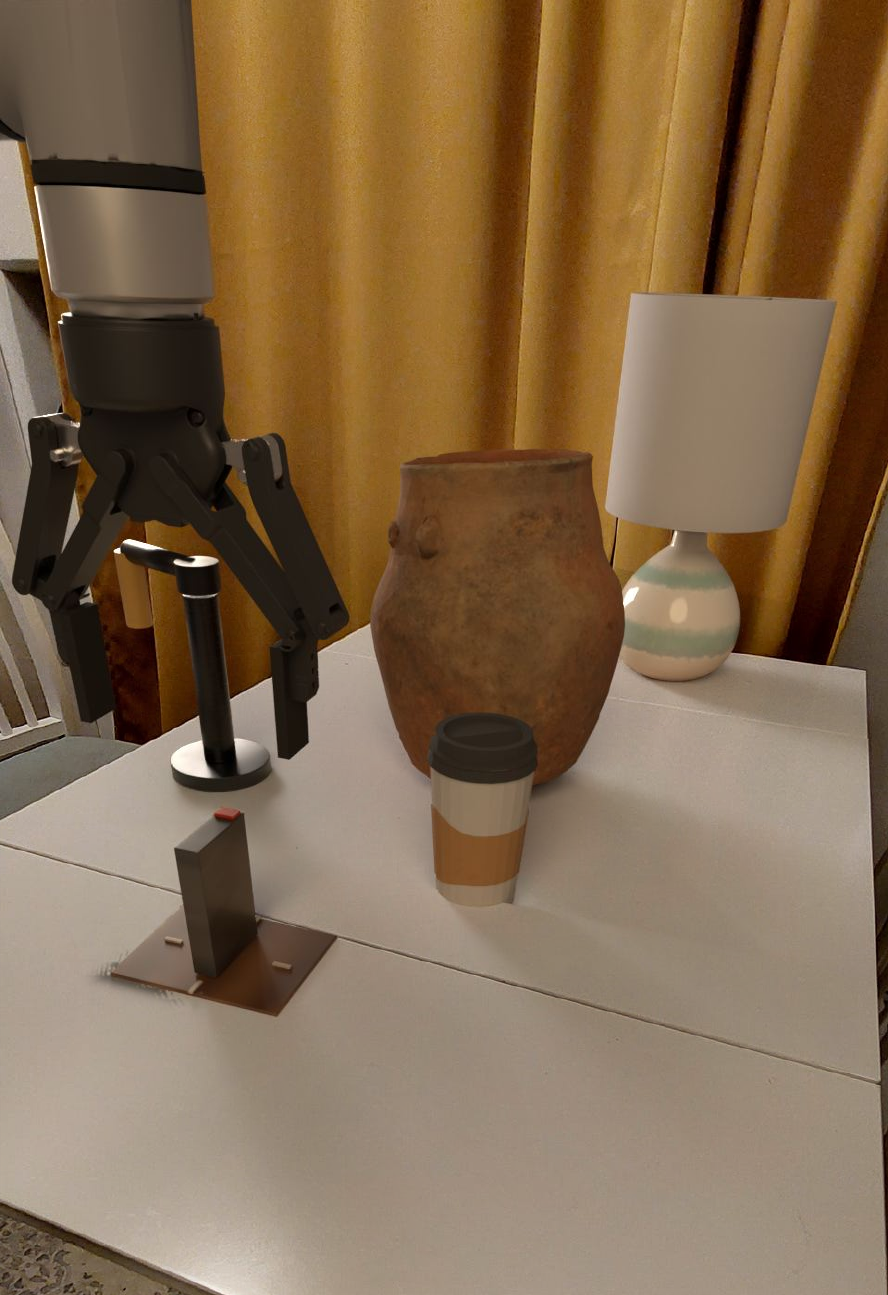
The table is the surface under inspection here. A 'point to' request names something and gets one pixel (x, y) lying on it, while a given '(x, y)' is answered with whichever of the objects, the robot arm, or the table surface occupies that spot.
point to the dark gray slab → (217, 891)
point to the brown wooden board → (230, 965)
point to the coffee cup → (480, 805)
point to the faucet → (214, 713)
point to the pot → (498, 600)
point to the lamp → (706, 456)
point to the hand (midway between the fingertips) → (193, 732)
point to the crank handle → (189, 571)
